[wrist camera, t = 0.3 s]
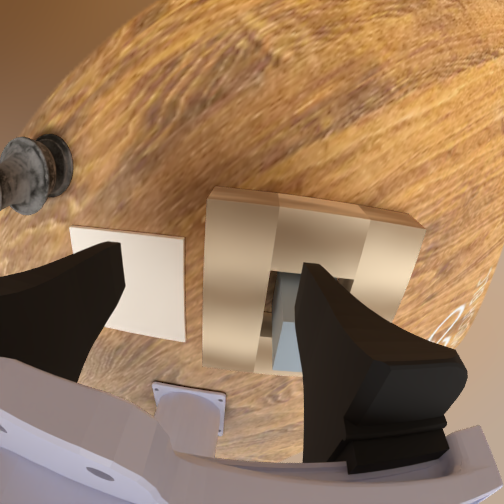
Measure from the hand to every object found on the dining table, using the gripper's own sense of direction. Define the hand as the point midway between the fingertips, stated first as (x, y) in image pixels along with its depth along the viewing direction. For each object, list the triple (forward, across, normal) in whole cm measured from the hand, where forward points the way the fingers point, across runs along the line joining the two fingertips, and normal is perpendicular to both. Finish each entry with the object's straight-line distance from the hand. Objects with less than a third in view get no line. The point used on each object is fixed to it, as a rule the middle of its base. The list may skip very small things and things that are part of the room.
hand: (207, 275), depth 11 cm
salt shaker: (+10, +15, -2) cm, 18 cm away
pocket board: (+10, -6, +6) cm, 13 cm away
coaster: (+10, +8, +8) cm, 15 cm away
